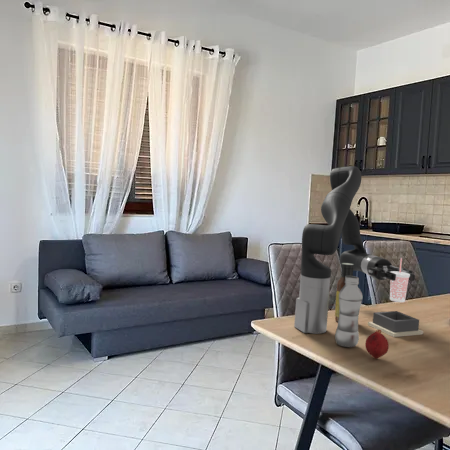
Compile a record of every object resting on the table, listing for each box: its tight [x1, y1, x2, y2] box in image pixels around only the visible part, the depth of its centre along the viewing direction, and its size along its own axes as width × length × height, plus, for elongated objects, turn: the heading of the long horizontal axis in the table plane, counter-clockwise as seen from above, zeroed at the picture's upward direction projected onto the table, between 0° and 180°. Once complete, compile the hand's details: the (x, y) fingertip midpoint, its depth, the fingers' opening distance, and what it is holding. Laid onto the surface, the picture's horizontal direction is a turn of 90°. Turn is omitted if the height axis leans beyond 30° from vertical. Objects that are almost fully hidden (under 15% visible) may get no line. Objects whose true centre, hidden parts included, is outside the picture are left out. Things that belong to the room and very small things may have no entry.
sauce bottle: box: [334, 263, 354, 323], centre depth 148 cm, size 7×6×20 cm
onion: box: [364, 329, 390, 360], centre depth 116 cm, size 6×6×8 cm
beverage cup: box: [389, 257, 410, 303], centre depth 141 cm, size 6×6×14 cm
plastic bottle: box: [334, 275, 363, 348], centre depth 124 cm, size 6×7×20 cm
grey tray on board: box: [367, 310, 424, 338], centre depth 143 cm, size 12×12×4 cm
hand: (404, 277), depth 139 cm, fingers closed on beverage cup, 6 cm apart
